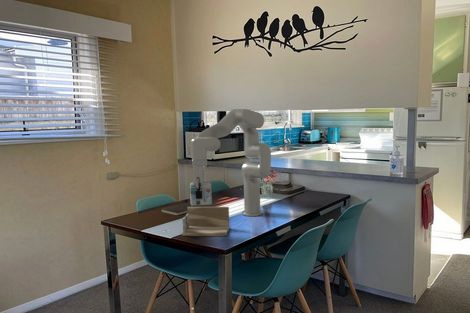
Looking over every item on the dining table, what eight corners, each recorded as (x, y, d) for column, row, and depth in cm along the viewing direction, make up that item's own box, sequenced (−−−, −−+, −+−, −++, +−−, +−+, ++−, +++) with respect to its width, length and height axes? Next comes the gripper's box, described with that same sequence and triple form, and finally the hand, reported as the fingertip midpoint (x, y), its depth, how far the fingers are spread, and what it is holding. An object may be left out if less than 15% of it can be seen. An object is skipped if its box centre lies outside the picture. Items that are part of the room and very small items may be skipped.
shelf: (188, 227, 221) (187, 206, 219) (229, 228, 218) (228, 206, 217) (182, 235, 207) (181, 213, 205) (225, 236, 204) (224, 213, 203)
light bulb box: (191, 205, 206) (190, 184, 204) (190, 203, 212) (189, 182, 211) (212, 204, 208) (211, 183, 206) (210, 201, 214) (210, 181, 213)
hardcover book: (205, 209, 264) (204, 205, 264) (177, 216, 248) (176, 212, 248) (188, 205, 275) (188, 202, 275) (160, 212, 259) (160, 208, 258)
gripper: (195, 160, 217) (197, 193, 219) (188, 165, 199) (189, 200, 201) (209, 160, 216) (211, 193, 218) (203, 165, 199) (204, 200, 201)
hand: (200, 196), depth 210 cm, fingers closed on light bulb box, 8 cm apart
